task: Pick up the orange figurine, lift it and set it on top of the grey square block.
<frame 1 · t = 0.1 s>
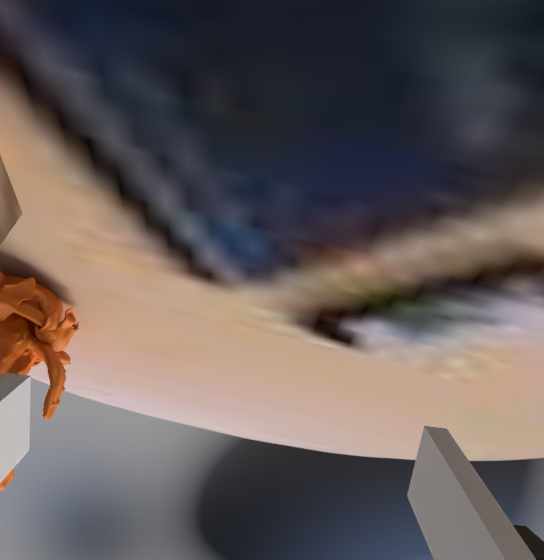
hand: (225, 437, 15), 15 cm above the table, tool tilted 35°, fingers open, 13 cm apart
orange figurine: (26, 295, 37), on the table
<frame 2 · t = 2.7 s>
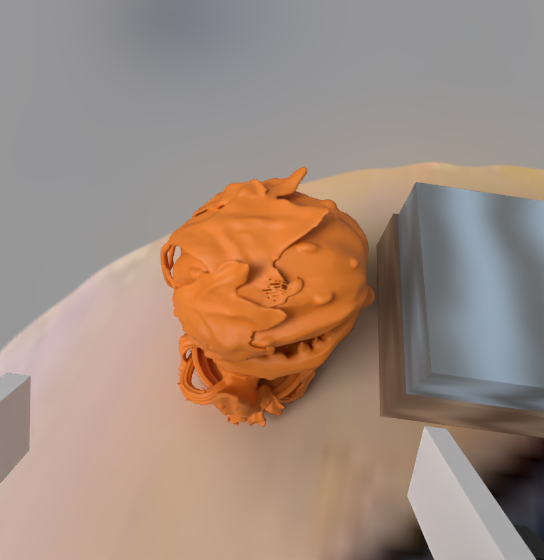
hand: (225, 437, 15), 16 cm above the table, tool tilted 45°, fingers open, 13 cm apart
grey square block: (469, 334, 36), on the table
orange figurine: (252, 365, 33), on the table
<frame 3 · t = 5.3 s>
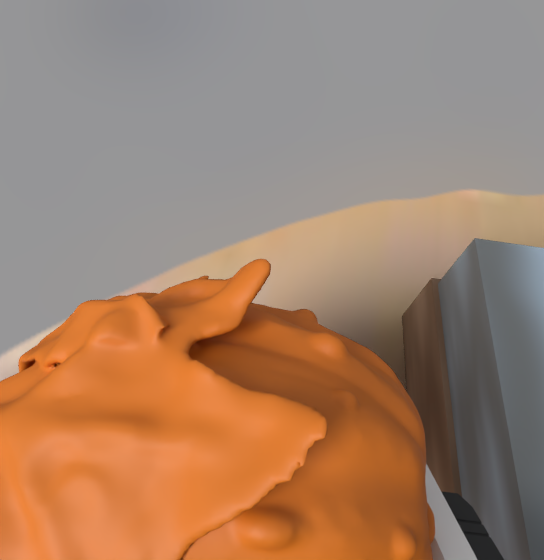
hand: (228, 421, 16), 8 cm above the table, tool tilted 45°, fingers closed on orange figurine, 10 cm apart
orange figurine: (214, 530, 21), on the table, touching gripper
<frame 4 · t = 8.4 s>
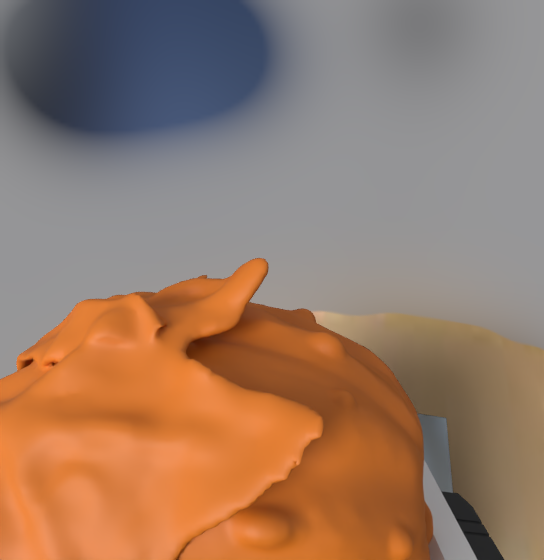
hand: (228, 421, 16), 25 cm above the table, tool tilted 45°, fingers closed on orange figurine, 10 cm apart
grey square block: (323, 517, 38), on the table
orange figurine: (213, 529, 21), point 18 cm above the table, touching gripper
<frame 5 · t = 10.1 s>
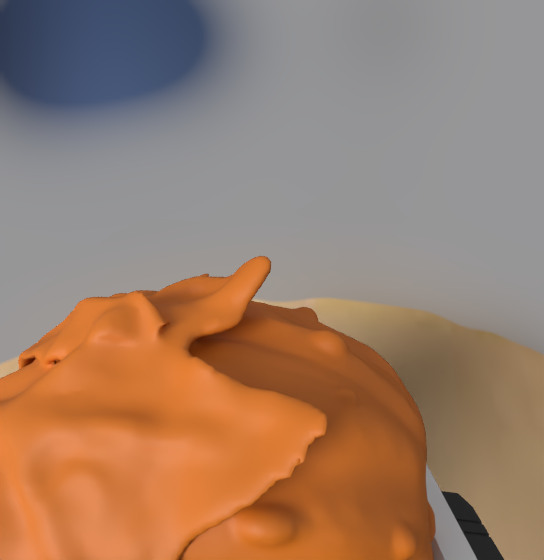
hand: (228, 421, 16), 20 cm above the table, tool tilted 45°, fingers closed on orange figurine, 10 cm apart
orange figurine: (214, 529, 21), point 13 cm above the table, touching gripper
when the fingers open (17 cm above the table, at t = 11.3 s): orange figurine drops 1 cm, resting on grey square block.
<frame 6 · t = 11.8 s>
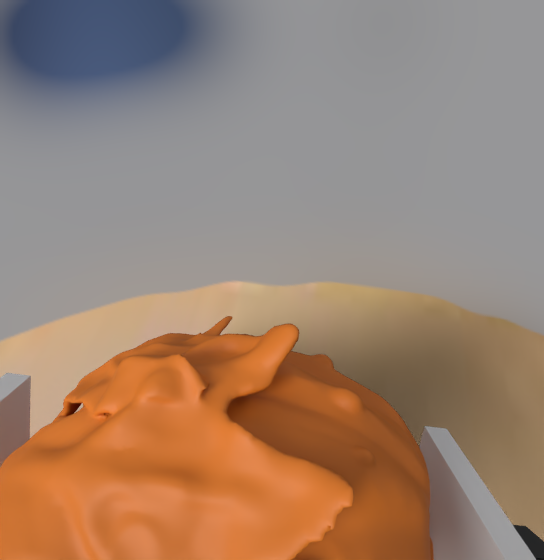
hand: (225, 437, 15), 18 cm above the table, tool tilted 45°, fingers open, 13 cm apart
orange figurine: (220, 532, 22), point 8 cm above the table, touching grey square block
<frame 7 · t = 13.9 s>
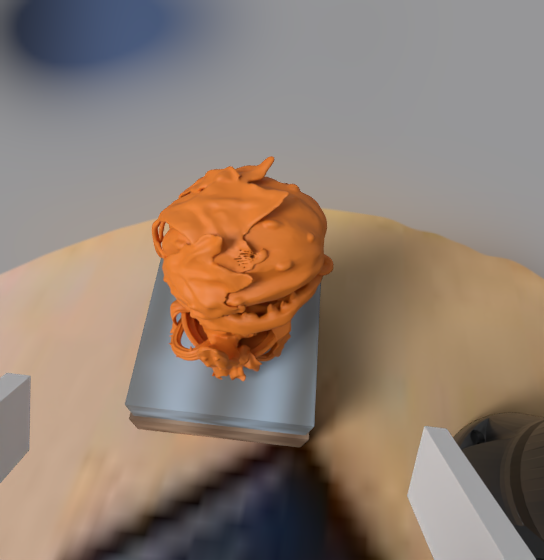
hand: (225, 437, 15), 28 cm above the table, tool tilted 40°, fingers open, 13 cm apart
grey square block: (230, 359, 45), on the table
orange figurine: (236, 330, 38), point 8 cm above the table, touching grey square block
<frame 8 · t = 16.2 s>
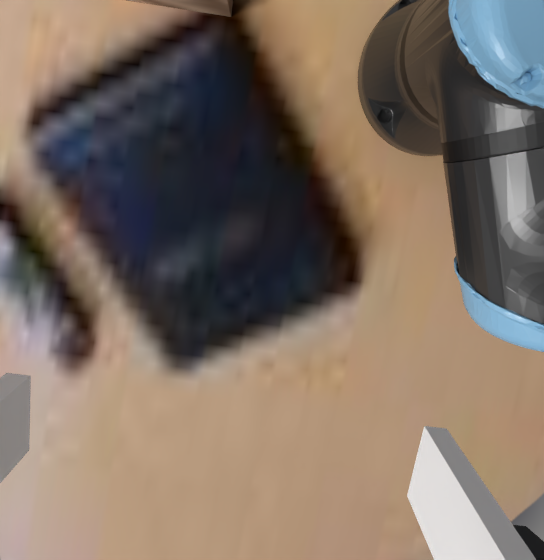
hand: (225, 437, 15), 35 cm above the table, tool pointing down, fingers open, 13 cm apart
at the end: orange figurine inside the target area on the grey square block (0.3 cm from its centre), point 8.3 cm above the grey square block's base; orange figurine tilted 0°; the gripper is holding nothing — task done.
